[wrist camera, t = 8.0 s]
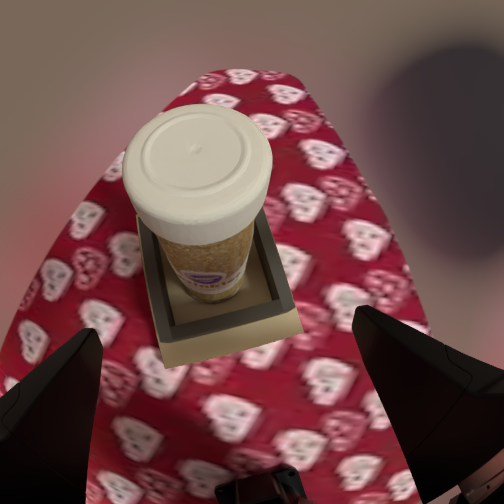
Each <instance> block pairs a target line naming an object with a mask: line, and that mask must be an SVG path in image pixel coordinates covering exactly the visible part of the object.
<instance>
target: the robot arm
mask: <svg viewBox="0 0 504 504" xmlns="http://www.w3.org/2000/svg"><path fill="white" fill-rule="evenodd" d="M352 331H353V334H354V337H355V340H356V342H357V345H358V348H359V351H360V354H361V357H362V360H363V363H364V365H365V367H366V370H367V372H368V374H369V376H370V378H371V380H372V383H373V385H374V387H375V389H376V391H377V393H378V396H379V398H380V400H381V402H382V404H383V407H384V409H385V411H386V413H387V416H388V418H389V420H390V423H391V425H392V427H393V430H394V432H395V434H396V437H397V439H398V441H399V444H400V446H401V449H402V451H403V454H404V456H405V459H406V461H407V464H408V466H409V469H410V472H411V474H412V477H413V479H414V482H415V485H416V487H417V490H418V493H419V495H420V498H421V501H422V503H423V504H427V503H428V502H430V501H432V500H434V499H436V498H437V497H439V496H441V495H442V494H444V493H445V492H447V491H448V490H450V489H452V488H453V487H455V486H456V485H458V486H459V488H460V490H461V493H459V494H458V495H456V496H455V497H453V498H452V499H450V502H449V504H504V370H502V369H499V368H497V367H494V366H492V365H490V364H487V363H485V362H482V361H480V360H477V359H475V358H473V357H470V356H468V355H466V354H463V353H461V352H459V351H457V350H455V349H453V348H451V347H449V346H447V345H444V344H443V343H442V342H439V341H438V340H436V339H434V338H432V337H430V336H428V335H426V334H424V333H422V332H420V331H418V330H416V329H414V328H412V327H410V326H408V325H406V324H404V323H402V322H400V321H398V320H397V319H395V318H393V317H391V316H389V315H387V314H385V313H383V312H381V311H379V310H377V309H375V308H373V307H371V306H369V305H362V306H358V307H357V308H356V309H355V313H354V318H353V322H352ZM102 358H103V346H102V344H101V341H100V339H99V337H98V334H97V332H96V330H95V329H94V328H83V329H82V330H81V331H79V332H78V333H77V334H76V335H74V336H73V337H72V338H71V339H70V340H68V341H67V342H66V343H65V344H63V345H62V346H61V347H60V348H58V349H57V350H56V351H55V352H54V353H52V354H51V355H50V356H49V357H48V358H46V359H45V360H44V361H43V362H42V363H40V364H39V365H38V366H37V367H36V368H34V369H33V370H32V371H31V372H30V373H29V374H27V375H26V376H25V377H24V378H23V379H22V380H20V383H19V382H18V383H17V384H16V385H15V386H14V387H12V388H11V389H10V390H9V391H8V392H7V393H5V394H4V395H3V396H2V397H0V504H86V482H87V469H88V459H89V450H90V442H91V435H92V428H93V421H94V415H95V409H96V404H97V398H98V393H99V386H100V377H101V367H102ZM291 471H293V472H294V473H293V474H291V475H289V472H291ZM218 490H224V492H219V491H218ZM214 492H215V495H216V497H217V499H218V502H219V504H315V503H313V502H311V501H309V500H307V497H306V494H305V491H304V488H303V485H302V482H301V479H300V476H299V473H298V471H297V469H296V468H294V467H289V468H285V469H282V470H279V471H276V472H272V473H271V472H266V473H262V474H259V475H255V476H251V477H247V478H243V479H238V480H237V481H236V482H232V483H228V484H222V485H218V486H216V487H215V489H214Z"/></svg>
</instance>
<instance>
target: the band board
mask: <svg viewBox="0 0 504 504" xmlns="http://www.w3.org/2000/svg"><path fill="white" fill-rule="evenodd" d="M136 220H137V229H138V236H139V244H140V251H141V257H142V264H143V270H144V276H145V281H146V287H147V292H148V298H149V303H150V308H151V312H152V317H153V322H154V326H155V331H156V335H157V339H158V343H159V347H160V351H161V355H162V359H163V363H164V367H165V369H167V368H172V367H177V366H182V365H186V364H191V363H195V362H200V361H204V360H208V359H212V358H216V357H220V356H224V355H228V354H232V353H236V352H240V351H243V350H247V349H250V348H254V347H258V346H261V345H264V344H268V343H271V342H275V341H278V340H281V339H284V338H288V337H291V336H294V335H297V334H300V333H303V332H304V331H303V328H302V325H301V322H300V319H299V315H298V312H297V309H296V306H295V303H294V299H293V296H292V293H291V290H290V287H289V284H288V281H287V278H286V275H285V271H284V268H283V265H282V262H281V259H280V256H279V253H278V250H277V247H276V244H275V241H274V238H273V235H272V232H271V229H270V226H269V223H268V220H267V217H266V214H265V211H264V208H263V205H262V207H261V209H260V211H259V212H258V214H257V216H256V217H255V220H254V233H253V238H252V242H251V247H250V251H249V255H248V259H247V263H246V267H245V271H244V279H243V282H242V285H241V287H240V289H239V290H238V292H237V293H236V294H235V295H234V296H233V297H231V298H230V299H228V300H227V301H225V302H222V303H218V304H206V303H203V302H201V301H198V300H196V299H194V298H193V297H192V296H190V295H189V294H188V293H187V291H186V289H185V287H184V286H183V284H182V281H181V280H180V279H179V277H178V276H177V274H176V273H175V271H174V269H173V268H172V266H171V264H170V262H169V261H168V259H167V256H166V253H165V252H164V250H163V248H162V246H161V244H160V243H159V240H158V239H157V237H156V235H155V233H154V232H152V231H151V230H150V229H149V228H148V227H147V226H146V225H145V224H144V223H143V222H142V220H141V218H140V217H139V215H138V214H136Z"/></svg>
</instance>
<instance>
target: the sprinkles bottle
mask: <svg viewBox="0 0 504 504" xmlns="http://www.w3.org/2000/svg"><path fill="white" fill-rule="evenodd" d="M271 169H272V153H271V148H270V144H269V142H268V140H267V138H266V136H265V134H264V133H263V131H262V130H261V129H260V127H259V126H258V125H257V124H256V123H255V122H253V121H252V120H251V119H250V118H248V117H247V116H245V115H244V114H242V113H240V112H238V111H235V110H233V109H230V108H227V107H223V106H218V105H211V104H194V105H186V106H181V107H178V108H174V109H171V110H169V111H166V112H164V113H162V114H160V115H158V116H157V117H155V118H153V119H152V120H151V121H149V122H148V123H147V124H145V125H144V126H143V127H142V128H141V129H140V130H139V131H138V132H137V134H136V135H135V136H134V137H133V138H132V140H131V142H130V143H129V145H128V147H127V149H126V152H125V154H124V158H123V163H122V177H123V183H124V186H125V189H126V191H127V194H128V196H129V198H130V200H131V202H132V204H133V206H134V208H135V210H136V212H137V214H138V215H139V217H140V218H141V220H142V222H143V223H144V224H145V225H146V226H147V227H148V228H149V229H150V230H151V231H152V232H154V233H155V235H156V237H157V239H158V240H159V243H160V244H161V246H162V248H163V250H164V252H165V253H166V256H167V259H168V261H169V262H170V264H171V266H172V268H173V269H174V271H175V273H176V274H177V276H178V277H179V279H180V280H181V281H182V284H183V286H184V287H185V289H186V291H187V293H188V294H189V295H190V296H192V297H193V298H194V299H196V300H198V301H201V302H203V303H206V304H218V303H222V302H225V301H227V300H228V299H230V298H231V297H233V296H234V295H235V294H236V293H237V292H238V290H239V289H240V287H241V285H242V282H243V279H244V271H245V267H246V263H247V259H248V255H249V251H250V247H251V242H252V238H253V233H254V220H255V217H256V216H257V214H258V212H259V211H260V209H261V207H262V205H263V203H264V200H265V197H266V193H267V189H268V185H269V180H270V175H271Z"/></svg>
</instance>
